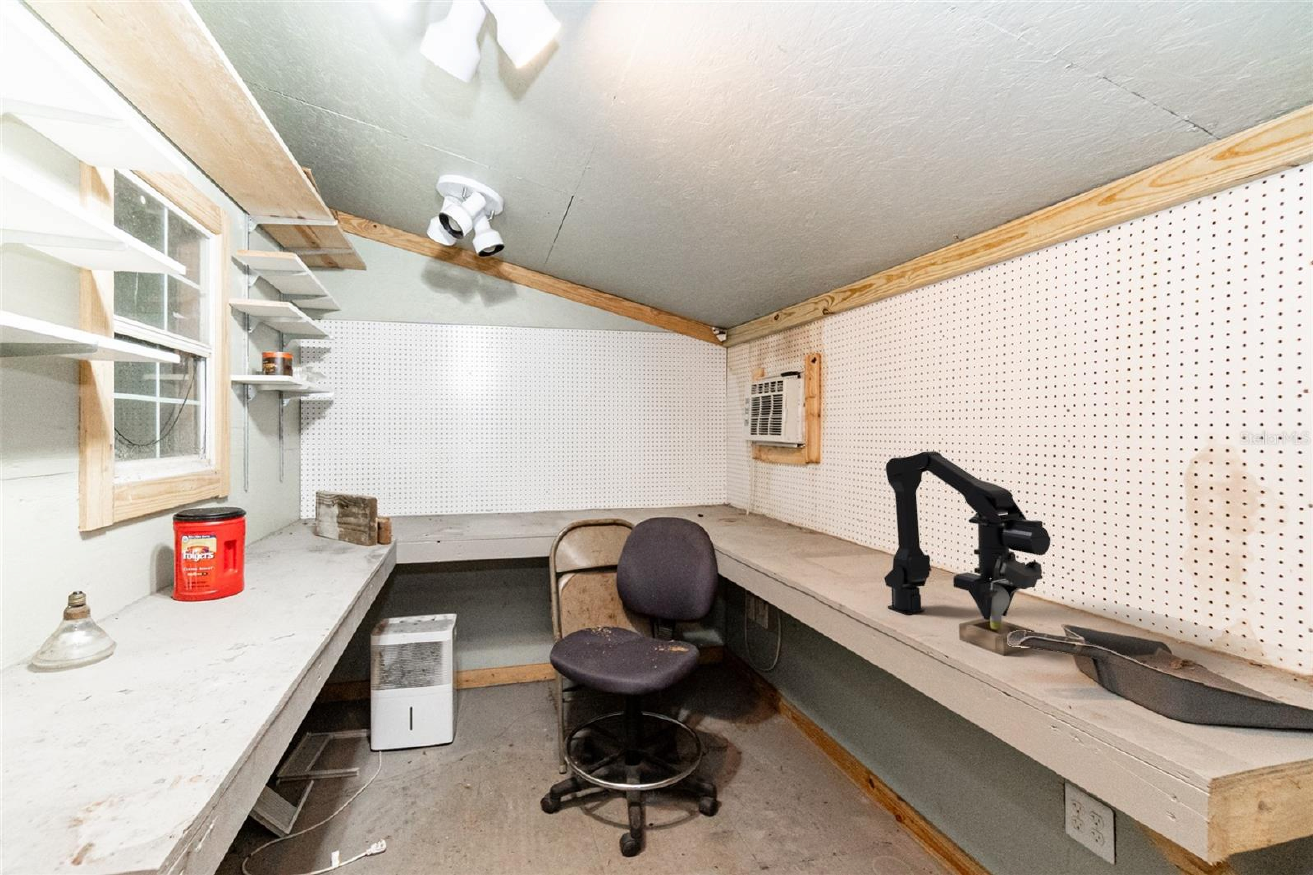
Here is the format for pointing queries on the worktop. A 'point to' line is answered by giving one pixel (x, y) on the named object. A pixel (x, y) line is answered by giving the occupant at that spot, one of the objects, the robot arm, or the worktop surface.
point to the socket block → (989, 635)
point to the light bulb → (998, 606)
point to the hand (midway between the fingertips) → (995, 617)
